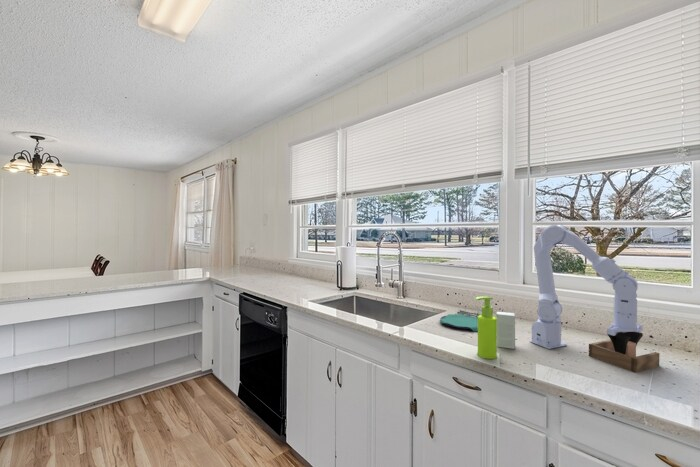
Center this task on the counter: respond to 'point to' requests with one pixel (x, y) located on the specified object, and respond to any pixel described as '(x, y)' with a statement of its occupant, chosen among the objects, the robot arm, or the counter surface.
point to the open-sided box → (622, 357)
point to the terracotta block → (630, 349)
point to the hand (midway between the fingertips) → (624, 354)
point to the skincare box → (505, 330)
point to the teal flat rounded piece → (461, 320)
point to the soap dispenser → (487, 330)
